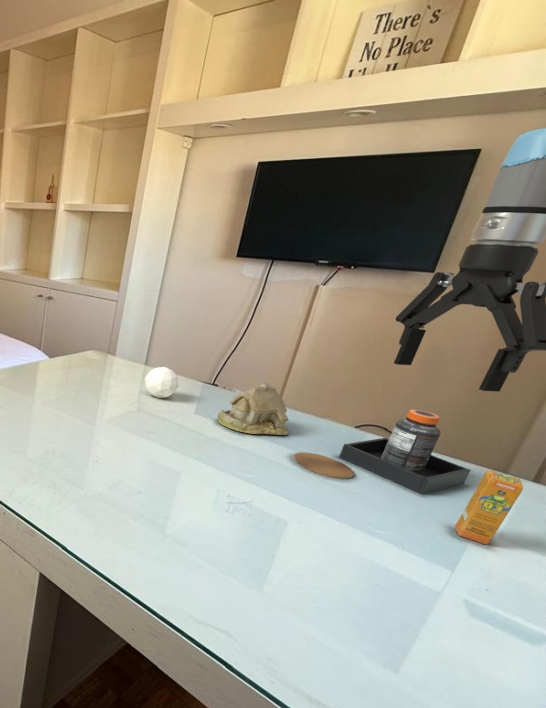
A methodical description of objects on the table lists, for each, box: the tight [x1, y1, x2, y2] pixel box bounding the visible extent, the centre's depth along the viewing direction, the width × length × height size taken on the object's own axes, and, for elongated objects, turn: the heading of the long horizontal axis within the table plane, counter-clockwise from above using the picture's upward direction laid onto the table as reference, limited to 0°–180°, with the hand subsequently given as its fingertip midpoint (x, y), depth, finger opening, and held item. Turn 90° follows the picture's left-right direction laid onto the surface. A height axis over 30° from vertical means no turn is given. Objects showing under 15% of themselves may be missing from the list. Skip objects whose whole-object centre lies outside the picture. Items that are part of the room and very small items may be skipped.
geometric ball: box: [144, 366, 179, 399], centre depth 114 cm, size 8×8×8 cm
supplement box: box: [455, 470, 524, 546], centre depth 65 cm, size 3×3×10 cm
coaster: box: [293, 452, 354, 480], centre depth 85 cm, size 9×9×1 cm
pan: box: [338, 437, 471, 495], centre depth 85 cm, size 13×13×3 cm
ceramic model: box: [217, 382, 289, 436], centre depth 99 cm, size 14×11×10 cm
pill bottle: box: [381, 409, 441, 475], centre depth 83 cm, size 6×6×11 cm
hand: (441, 376), depth 77 cm, fingers open, 13 cm apart
